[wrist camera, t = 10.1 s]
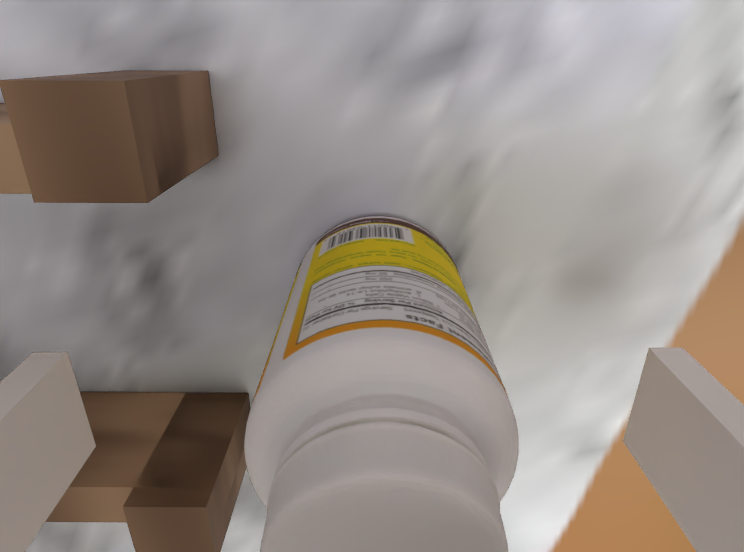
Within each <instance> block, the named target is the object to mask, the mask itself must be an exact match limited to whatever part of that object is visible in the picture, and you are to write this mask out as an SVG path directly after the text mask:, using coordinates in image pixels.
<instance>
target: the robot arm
mask: <svg viewBox="0 0 744 552" xmlns="http://www.w3.org/2000/svg"><path fill="white" fill-rule="evenodd" d="M623 442H624V443H625V445H626V446H627V448H628V449H629V451H630V452H631V454H632V455H633V457H634V458H635V460H636V461H637V463H638V464H639V466H640V467H641V469H642V470H643V472H644V473H645V475H646V476H647V478H648V479H649V481H650V482H651V484H652V485H653V487H654V488H655V490H656V491H657V493H658V494H659V496H660V497H661V499H662V500H663V502H664V503H665V505H666V506H667V508H668V509H669V511H670V512H671V514H672V515H673V517H674V518H675V520H676V521H677V523H678V525H679V526H680V528H681V529H682V531H683V532H684V533H685V535H686V537H687V538H688V539H689V541H690V543H691V544H692V546H693V547H694V549H695V550H696V552H744V405H743V404H742V403H741V402H740V401H739V400H738V399H737V398H736V397H735V396H733V395H732V394H731V393H730V392H729V391H728V390H727V389H726V388H725V387H724V386H723V385H722V384H721V383H720V382H718V381H717V380H716V379H715V378H714V377H713V376H712V375H711V374H710V373H709V372H708V371H707V370H705V369H704V367H702V366H701V365H700V364H699V363H698V362H697V361H696V360H695V359H694V358H693V357H692V356H691V355H689V354H688V353H687V352H686V351H685V350H684V349H683V348H649V350H648V353H647V357H646V361H645V364H644V368H643V371H642V375H641V378H640V382H639V385H638V389H637V393H636V396H635V400H634V403H633V407H632V410H631V414H630V417H629V421H628V425H627V428H626V432H625V435H624V439H623ZM95 447H96V444H95V441H94V438H93V434H92V431H91V428H90V425H89V421H88V418H87V415H86V411H85V408H84V405H83V402H82V398H81V395H80V392H79V388H78V385H77V382H76V378H75V375H74V372H73V369H72V365H71V362H70V359H69V355H68V352H33V353H31V354H30V355H29V356H28V357H27V358H26V359H25V360H24V361H23V362H22V363H21V364H19V365H18V366H17V367H16V368H15V369H14V370H13V371H12V372H11V373H10V374H9V375H8V376H6V377H5V378H4V379H3V380H2V381H1V382H0V552H25V551H26V550H27V548H28V547H29V545H30V544H31V542H32V541H33V539H34V538H35V536H36V535H37V533H38V532H39V530H40V529H41V527H42V526H43V524H44V523H45V521H46V520H47V518H48V517H49V515H50V514H51V513H52V511H53V510H54V508H55V507H56V505H57V504H58V502H59V501H60V499H61V498H62V496H63V495H64V493H65V492H66V490H67V489H68V487H69V486H70V484H71V483H72V481H73V480H74V478H75V477H76V475H77V474H78V472H79V471H80V469H81V468H82V466H83V465H84V463H85V462H86V460H87V459H88V457H89V456H90V454H91V453H92V451H93V450H94V449H95Z"/></svg>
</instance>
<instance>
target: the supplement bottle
mask: <svg viewBox="0 0 744 552" xmlns="http://www.w3.org/2000/svg"><path fill="white" fill-rule="evenodd" d="M244 450H245V460H246V466H247V470H248V474H249V477H250V480H251V482H252V485H253V487H254V489H255V491H256V493H257V494H258V496H259V498H260V499H261V501H262V502H263V504H264V505H265V506H266V507H267V518H266V523H265V528H264V532H263V537H262V541H261V549H260V552H508V545H507V540H506V535H505V531H504V526H503V522H502V518H501V514H500V501H501V500H502V498H503V497H504V495H505V493H506V491H507V490H508V488H509V486H510V483H511V481H512V479H513V476H514V473H515V469H516V465H517V459H518V429H517V424H516V419H515V416H514V413H513V410H512V407H511V404H510V401H509V398H508V396H507V393H506V391H505V388H504V386H503V384H502V381H501V378H500V376H499V374H498V371H497V369H496V366H495V364H494V361H493V359H492V356H491V354H490V351H489V349H488V346H487V344H486V341H485V339H484V336H483V333H482V331H481V329H480V326H479V324H478V321H477V319H476V316H475V314H474V311H473V308H472V306H471V303H470V301H469V298H468V295H467V293H466V290H465V288H464V286H463V283H462V281H461V278H460V275H459V273H458V270H457V268H456V266H455V264H454V262H453V260H452V258H451V256H450V255H449V253H448V252H447V250H446V249H445V248H444V247H443V245H442V244H441V243H440V242H439V241H438V240H437V239H436V238H435V237H434V236H432V235H431V234H430V233H429V232H427V231H426V230H424V229H422V228H421V227H419V226H417V225H415V224H413V223H410V222H408V221H405V220H401V219H397V218H393V217H384V216H370V217H362V218H358V219H354V220H350V221H348V222H345V223H342V224H340V225H338V226H336V227H334V228H333V229H331V230H330V231H328V232H327V233H325V234H324V235H323V236H321V237H320V238H319V239H318V240H317V241H316V242H315V243H314V244H313V245H312V246H311V248H310V249H309V250H308V252H307V253H306V255H305V257H304V258H303V260H302V262H301V264H300V267H299V269H298V271H297V274H296V277H295V280H294V283H293V286H292V289H291V292H290V294H289V297H288V301H287V303H286V306H285V309H284V313H283V315H282V319H281V322H280V324H279V327H278V330H277V333H276V336H275V339H274V342H273V345H272V348H271V351H270V353H269V356H268V359H267V362H266V365H265V368H264V371H263V374H262V377H261V379H260V382H259V385H258V388H257V391H256V394H255V397H254V400H253V402H252V406H251V409H250V413H249V416H248V420H247V424H246V432H245V440H244Z"/></svg>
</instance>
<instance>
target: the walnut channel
mask: <svg viewBox="0 0 744 552" xmlns="http://www.w3.org/2000/svg"><path fill="white" fill-rule="evenodd" d="M0 87H1V91H2V94H3V97H4V101H5V103H0V194H32V197H33V201H34V202H44V203H148V202H150V201H151V200H153V199H154V198H156V197H157V196H159V195H160V194H162V193H163V192H165V191H166V190H168V189H169V188H171V187H172V186H174V185H175V184H177V183H178V182H180V181H181V180H183V179H184V178H186V177H187V176H188V175H190V174H191V173H193V172H194V171H196V170H197V169H199V168H200V167H202V166H203V165H205V164H206V163H208V162H209V161H211V160H212V159H214V158H215V157H217V156H218V147H217V139H216V131H215V123H214V115H213V107H212V99H211V91H210V83H209V75H208V71H113V72H100V73H87V74H74V75H61V76H48V77H36V78H23V79H10V80H0ZM80 395H81V398H82V402H83V405H84V408H85V411H86V415H87V418H88V421H89V425H90V428H91V431H92V434H93V438H94V441H95V444H96V447H95V449H94V450H93V451H92V453H91V454H90V456H89V457H88V459H87V460H86V462H85V463H84V465H83V466H82V468H81V469H80V471H79V472H78V474H77V475H76V477H75V478H74V480H73V481H72V483H71V484H70V486H69V487H68V489H67V490H66V492H65V493H64V495H63V496H62V498H61V499H60V501H59V502H58V504H57V505H56V507H55V508H54V510H53V511H52V513H51V514H50V515H49V517H48V518H47V520H46V521H45V522H127V524H128V527H129V531H130V534H131V538H132V541H133V545H134V548H135V551H136V552H220V551H221V548H222V545H223V541H224V538H225V535H226V532H227V528H228V525H229V522H230V519H231V515H232V512H233V509H234V506H235V503H236V499H237V496H238V493H239V490H240V486H241V483H242V480H243V477H244V473H245V470H246V467H247V466H246V460H245V450H244V440H245V432H246V424H247V420H248V416H249V413H250V402H249V394H248V393H150V392H80Z"/></svg>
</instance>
